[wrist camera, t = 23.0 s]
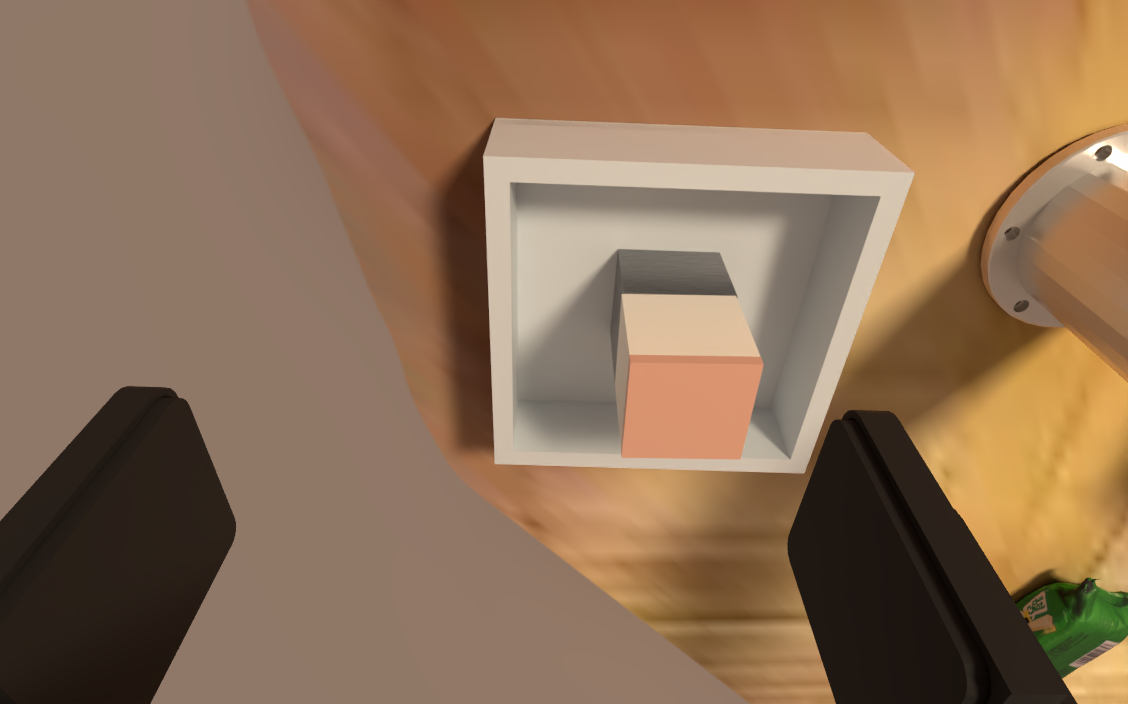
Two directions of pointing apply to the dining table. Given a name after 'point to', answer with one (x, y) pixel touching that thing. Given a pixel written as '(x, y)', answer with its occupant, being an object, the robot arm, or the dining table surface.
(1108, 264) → the robot arm
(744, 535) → the dining table surface
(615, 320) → the block
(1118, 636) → the snack package
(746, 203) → the tote
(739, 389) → the orange and beige cube
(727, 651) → the dining table surface
